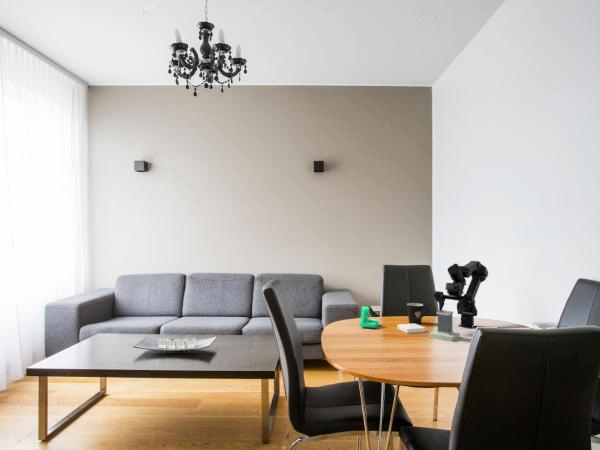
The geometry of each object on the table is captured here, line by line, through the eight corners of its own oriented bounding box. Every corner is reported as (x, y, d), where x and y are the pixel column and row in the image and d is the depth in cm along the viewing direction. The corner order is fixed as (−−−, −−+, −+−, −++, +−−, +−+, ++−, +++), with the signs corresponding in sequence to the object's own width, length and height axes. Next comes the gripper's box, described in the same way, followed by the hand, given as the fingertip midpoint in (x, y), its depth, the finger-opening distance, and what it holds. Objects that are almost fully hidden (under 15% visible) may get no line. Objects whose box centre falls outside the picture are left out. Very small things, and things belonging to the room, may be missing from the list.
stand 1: (415, 327, 203) (415, 323, 203) (425, 332, 193) (425, 327, 194) (397, 328, 201) (397, 324, 201) (407, 333, 191) (407, 329, 191)
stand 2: (439, 333, 190) (439, 329, 191) (459, 337, 184) (459, 332, 184) (430, 337, 183) (430, 333, 183) (451, 341, 176) (451, 337, 176)
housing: (441, 331, 187) (441, 310, 188) (453, 333, 184) (453, 311, 184) (436, 333, 183) (436, 311, 183) (448, 335, 180) (448, 313, 180)
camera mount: (374, 329, 199) (374, 309, 199) (360, 328, 202) (360, 308, 202) (379, 324, 210) (379, 305, 210) (365, 323, 213) (365, 304, 213)
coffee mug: (406, 324, 210) (406, 305, 210) (407, 320, 219) (407, 302, 219) (429, 325, 207) (429, 306, 207) (429, 322, 215) (428, 303, 215)
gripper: (434, 275, 198) (425, 299, 190) (472, 277, 185) (464, 304, 177) (441, 288, 204) (432, 313, 196) (478, 292, 191) (471, 319, 183)
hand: (449, 312), depth 188 cm, fingers open, 9 cm apart
